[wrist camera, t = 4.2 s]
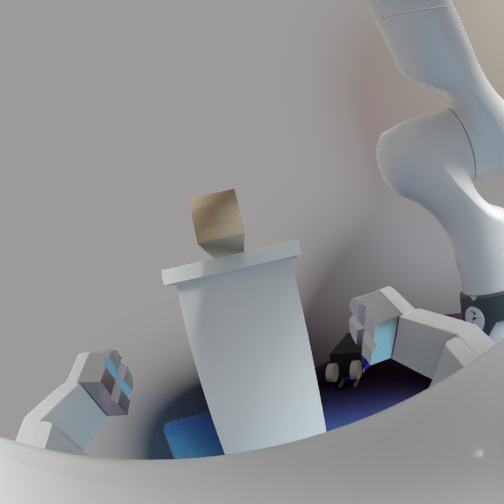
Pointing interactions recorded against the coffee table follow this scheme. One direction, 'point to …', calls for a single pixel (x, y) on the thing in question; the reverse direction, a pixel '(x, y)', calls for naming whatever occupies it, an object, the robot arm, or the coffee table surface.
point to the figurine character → (346, 362)
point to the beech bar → (218, 223)
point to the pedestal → (251, 346)
